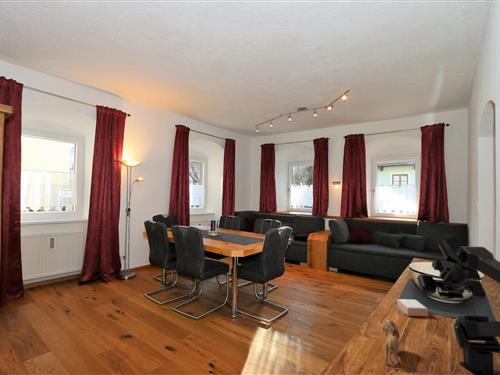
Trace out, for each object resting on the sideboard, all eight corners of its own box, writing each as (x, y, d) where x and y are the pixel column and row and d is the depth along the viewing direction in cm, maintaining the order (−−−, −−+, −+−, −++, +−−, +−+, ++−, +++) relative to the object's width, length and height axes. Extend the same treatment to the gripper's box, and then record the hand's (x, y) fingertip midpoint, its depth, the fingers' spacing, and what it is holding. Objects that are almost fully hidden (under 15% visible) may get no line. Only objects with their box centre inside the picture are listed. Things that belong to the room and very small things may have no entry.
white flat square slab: (428, 315, 116) (428, 314, 116) (403, 314, 117) (403, 313, 117) (416, 306, 126) (416, 305, 126) (393, 305, 127) (393, 304, 127)
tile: (427, 308, 115) (415, 299, 125) (407, 307, 116) (397, 298, 126) (427, 316, 115) (416, 306, 125) (407, 315, 116) (397, 306, 126)
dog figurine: (380, 343, 95) (380, 316, 95) (398, 346, 93) (397, 319, 93) (384, 368, 81) (384, 337, 81) (405, 372, 79) (404, 340, 80)
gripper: (481, 256, 93) (462, 281, 103) (420, 250, 96) (407, 275, 106) (497, 287, 84) (474, 311, 95) (429, 279, 88) (414, 303, 98)
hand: (441, 298), depth 99 cm, fingers closed
